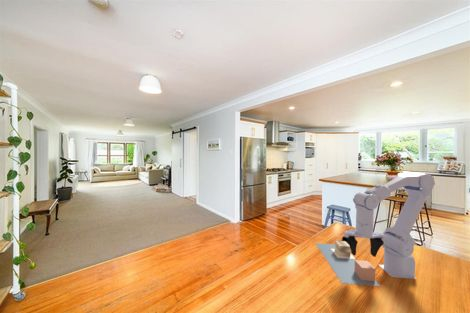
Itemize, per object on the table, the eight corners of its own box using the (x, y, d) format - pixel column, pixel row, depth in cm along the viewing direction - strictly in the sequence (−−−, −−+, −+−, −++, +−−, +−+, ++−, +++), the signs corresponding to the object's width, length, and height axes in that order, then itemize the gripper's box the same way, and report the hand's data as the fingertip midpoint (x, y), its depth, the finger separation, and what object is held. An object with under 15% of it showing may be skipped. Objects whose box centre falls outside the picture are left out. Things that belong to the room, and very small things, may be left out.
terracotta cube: (367, 272, 76) (367, 261, 75) (375, 281, 71) (375, 268, 70) (354, 271, 76) (354, 260, 76) (361, 280, 71) (361, 267, 71)
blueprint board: (341, 245, 98) (342, 244, 98) (380, 287, 68) (380, 285, 68) (315, 244, 99) (315, 242, 99) (341, 284, 70) (341, 282, 70)
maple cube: (345, 250, 92) (345, 241, 91) (350, 256, 87) (350, 246, 86) (334, 250, 92) (335, 240, 92) (339, 256, 87) (339, 245, 87)
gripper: (377, 219, 77) (375, 250, 77) (341, 217, 78) (340, 248, 79) (389, 226, 70) (387, 260, 70) (349, 224, 71) (348, 257, 72)
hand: (363, 254), depth 74 cm, fingers open, 7 cm apart
